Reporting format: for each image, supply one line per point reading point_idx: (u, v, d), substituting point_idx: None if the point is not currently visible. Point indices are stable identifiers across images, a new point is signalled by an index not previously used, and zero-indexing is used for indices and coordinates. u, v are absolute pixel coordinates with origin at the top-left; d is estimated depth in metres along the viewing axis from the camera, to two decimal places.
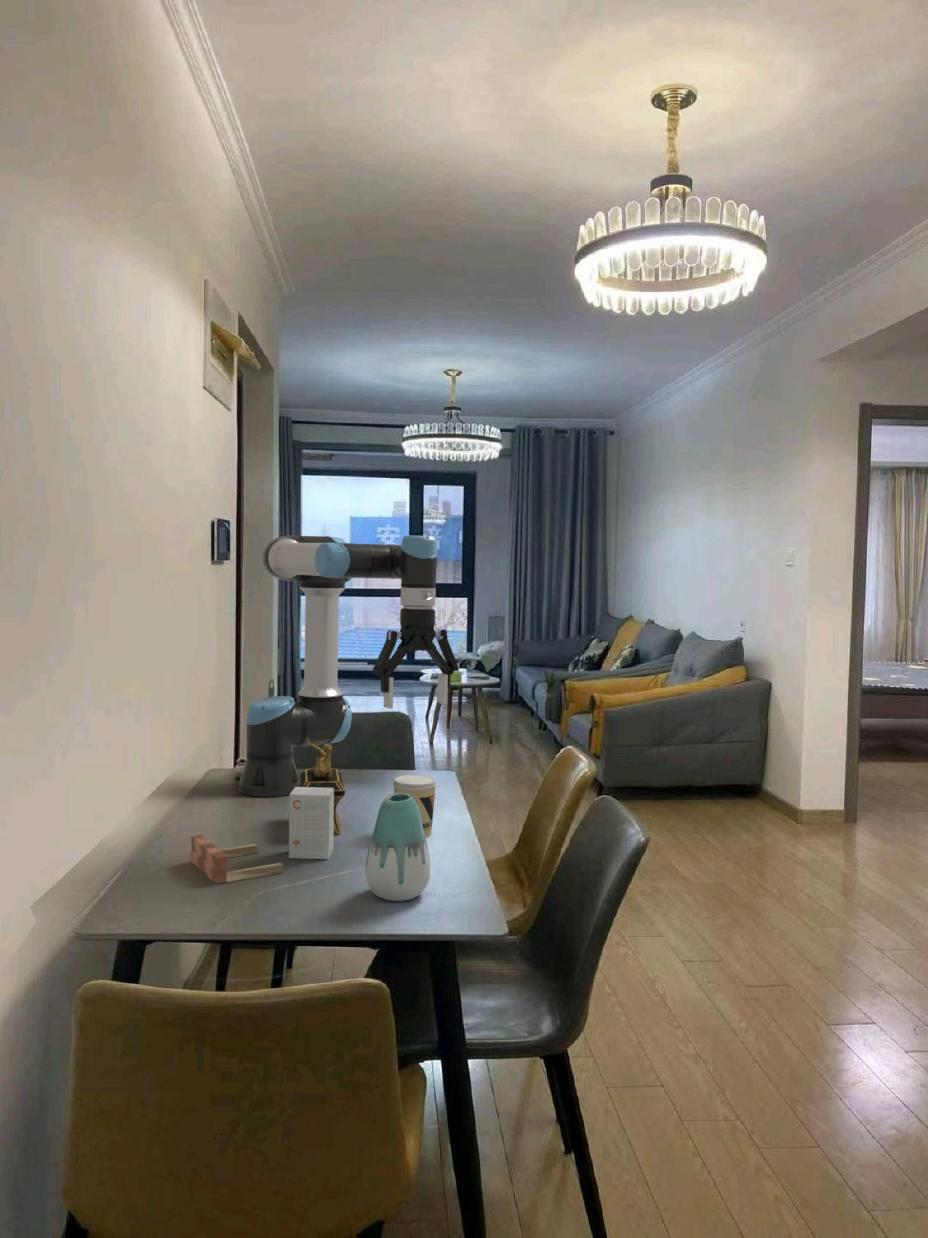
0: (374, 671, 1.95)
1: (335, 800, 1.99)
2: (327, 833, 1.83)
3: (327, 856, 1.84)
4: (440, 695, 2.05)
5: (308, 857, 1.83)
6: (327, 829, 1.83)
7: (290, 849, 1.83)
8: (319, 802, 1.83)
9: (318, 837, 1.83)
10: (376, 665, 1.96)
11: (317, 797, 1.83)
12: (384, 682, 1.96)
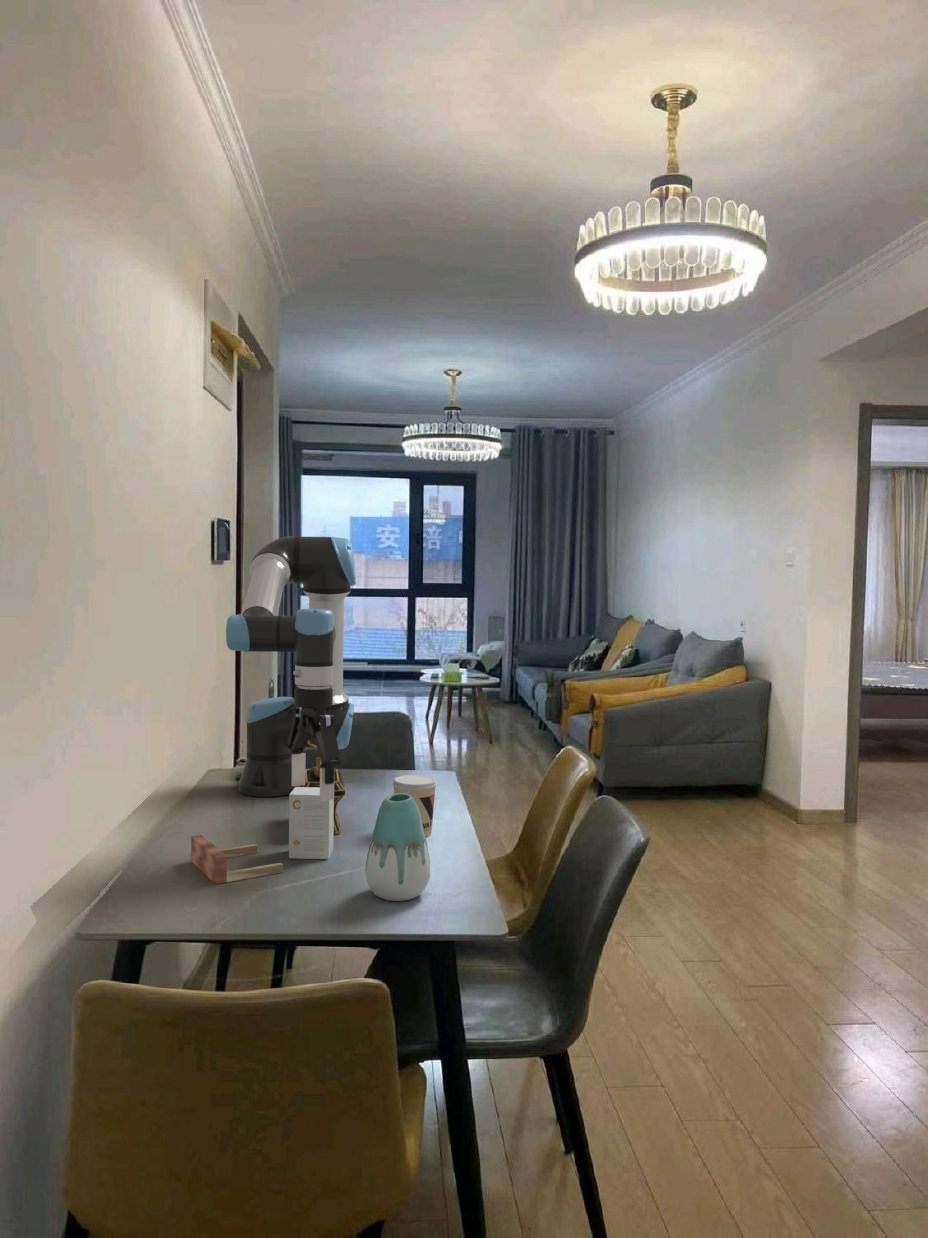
0: None
1: (335, 800, 1.99)
2: (327, 833, 1.83)
3: (327, 856, 1.84)
4: None
5: (308, 857, 1.83)
6: (327, 829, 1.83)
7: (290, 849, 1.83)
8: (319, 802, 1.83)
9: (318, 837, 1.83)
10: None
11: (317, 797, 1.83)
12: None
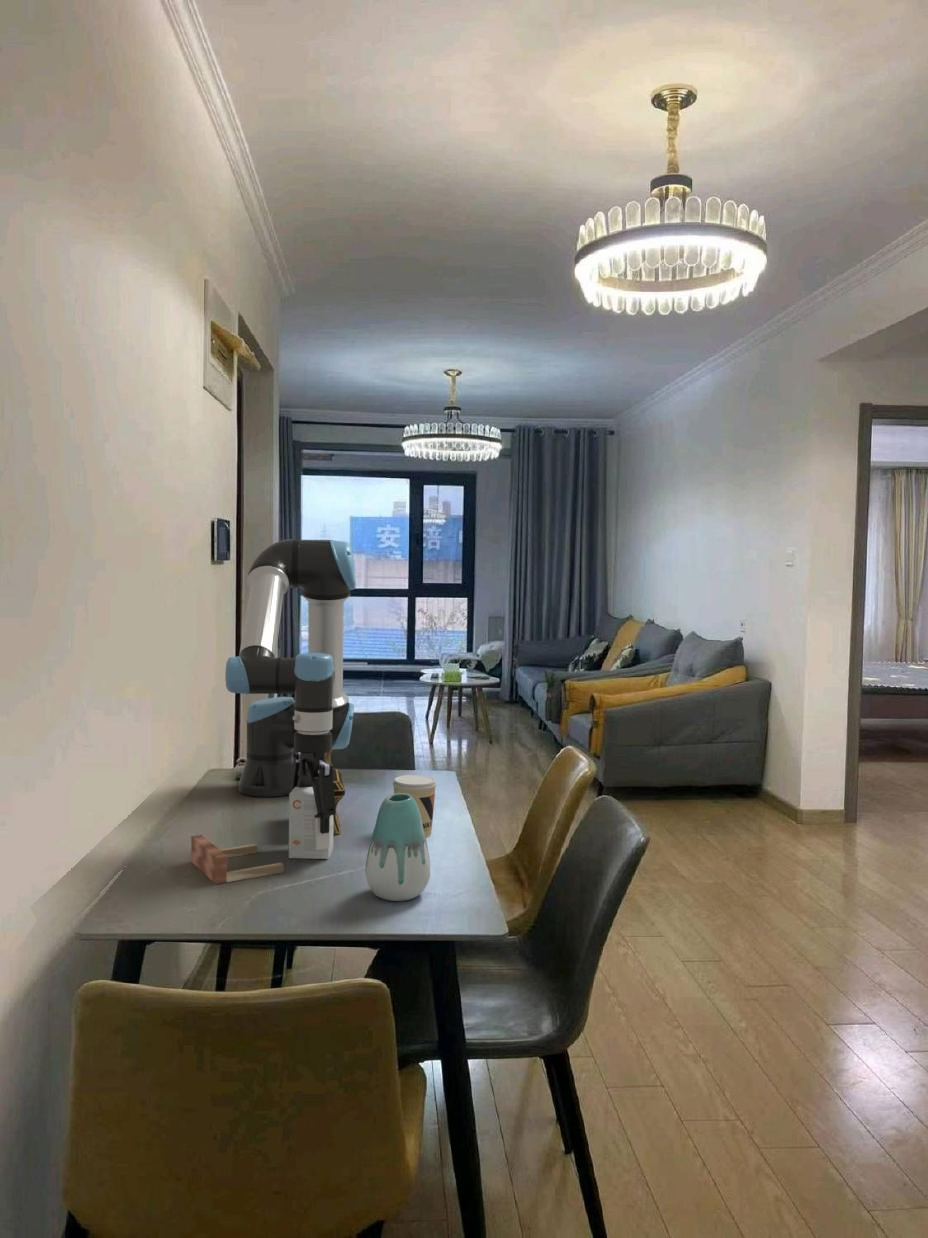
0: None
1: (335, 800, 1.99)
2: None
3: (327, 856, 1.84)
4: None
5: (308, 857, 1.84)
6: None
7: (290, 849, 1.83)
8: None
9: None
10: None
11: None
12: None
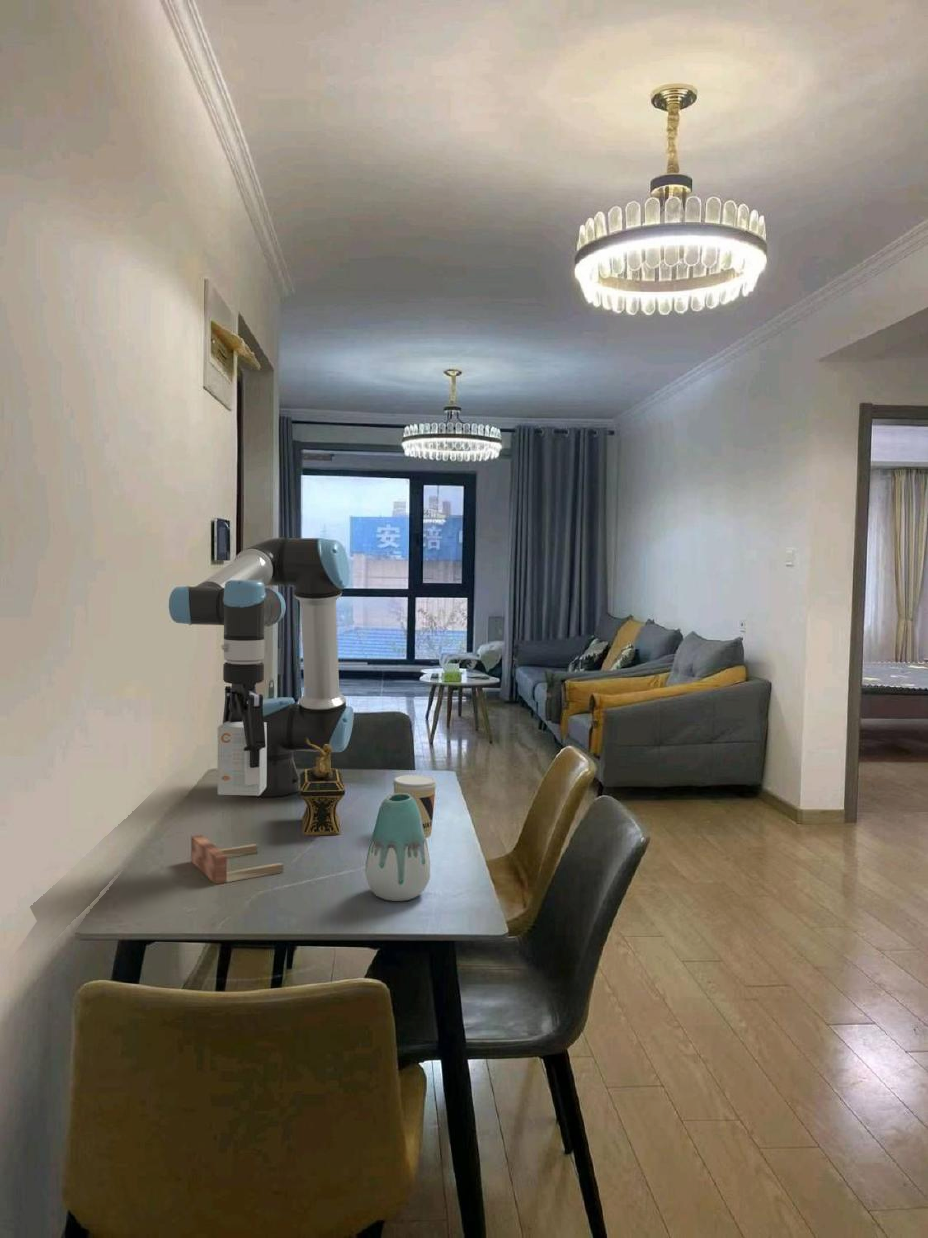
0: None
1: (335, 800, 1.99)
2: None
3: (257, 792, 1.75)
4: None
5: (238, 793, 1.75)
6: None
7: (219, 785, 1.75)
8: None
9: None
10: None
11: None
12: None
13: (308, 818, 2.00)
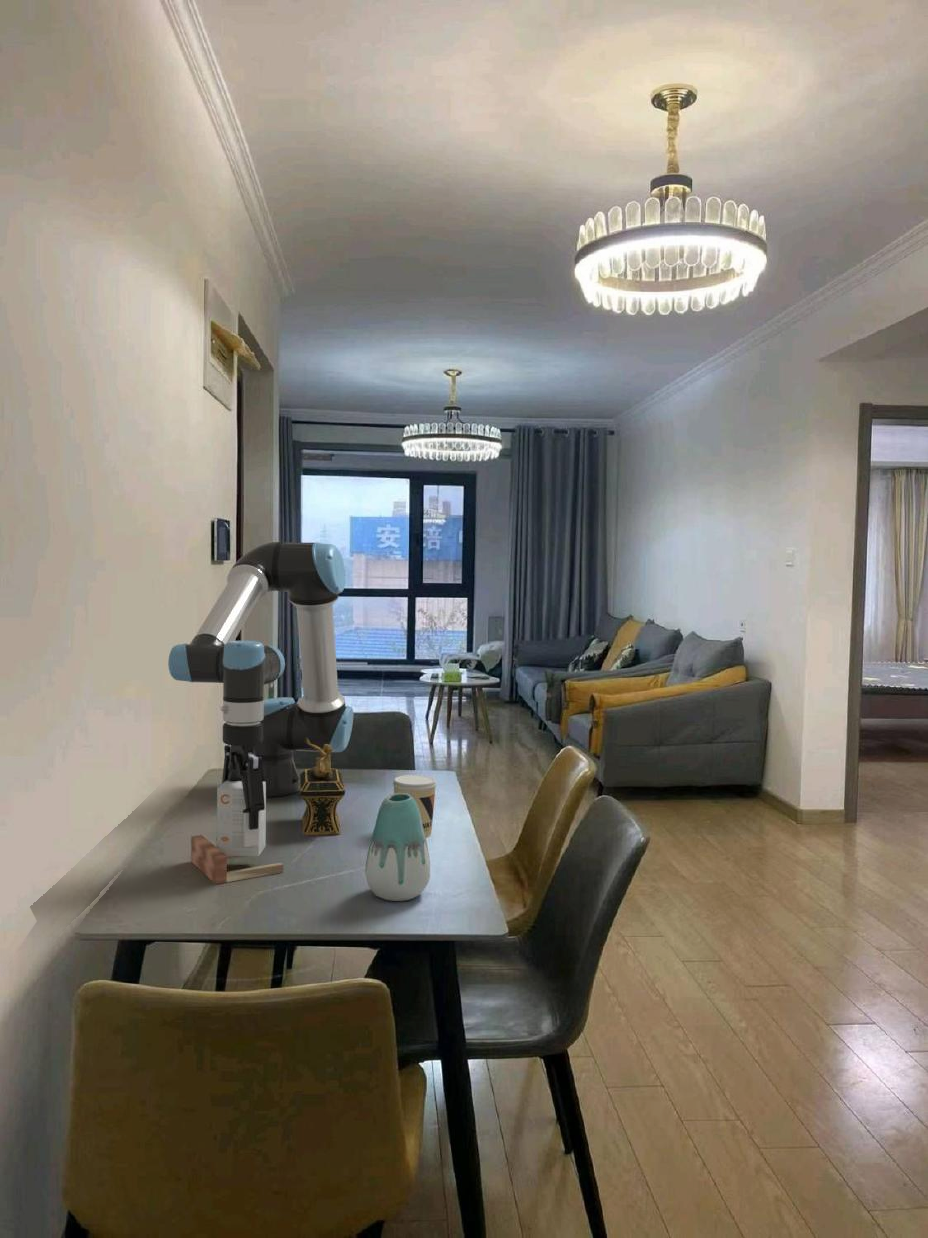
0: None
1: (335, 800, 1.99)
2: None
3: (257, 853, 1.75)
4: None
5: (237, 854, 1.75)
6: None
7: (218, 846, 1.75)
8: None
9: None
10: None
11: None
12: None
13: (308, 818, 2.00)
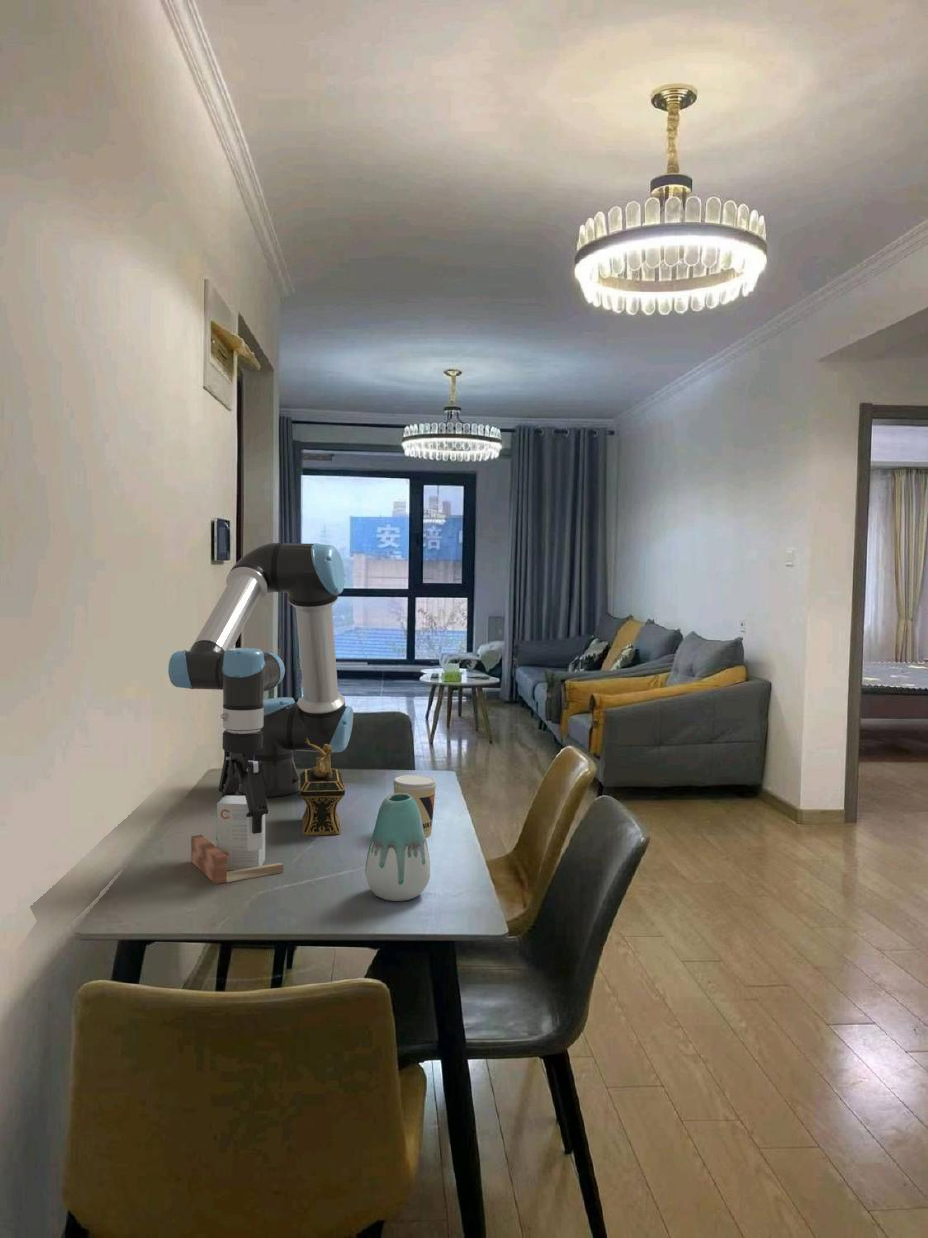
0: None
1: (335, 800, 1.99)
2: None
3: None
4: None
5: (237, 869, 1.76)
6: None
7: None
8: None
9: None
10: None
11: (246, 806, 1.75)
12: None
13: (308, 818, 2.00)
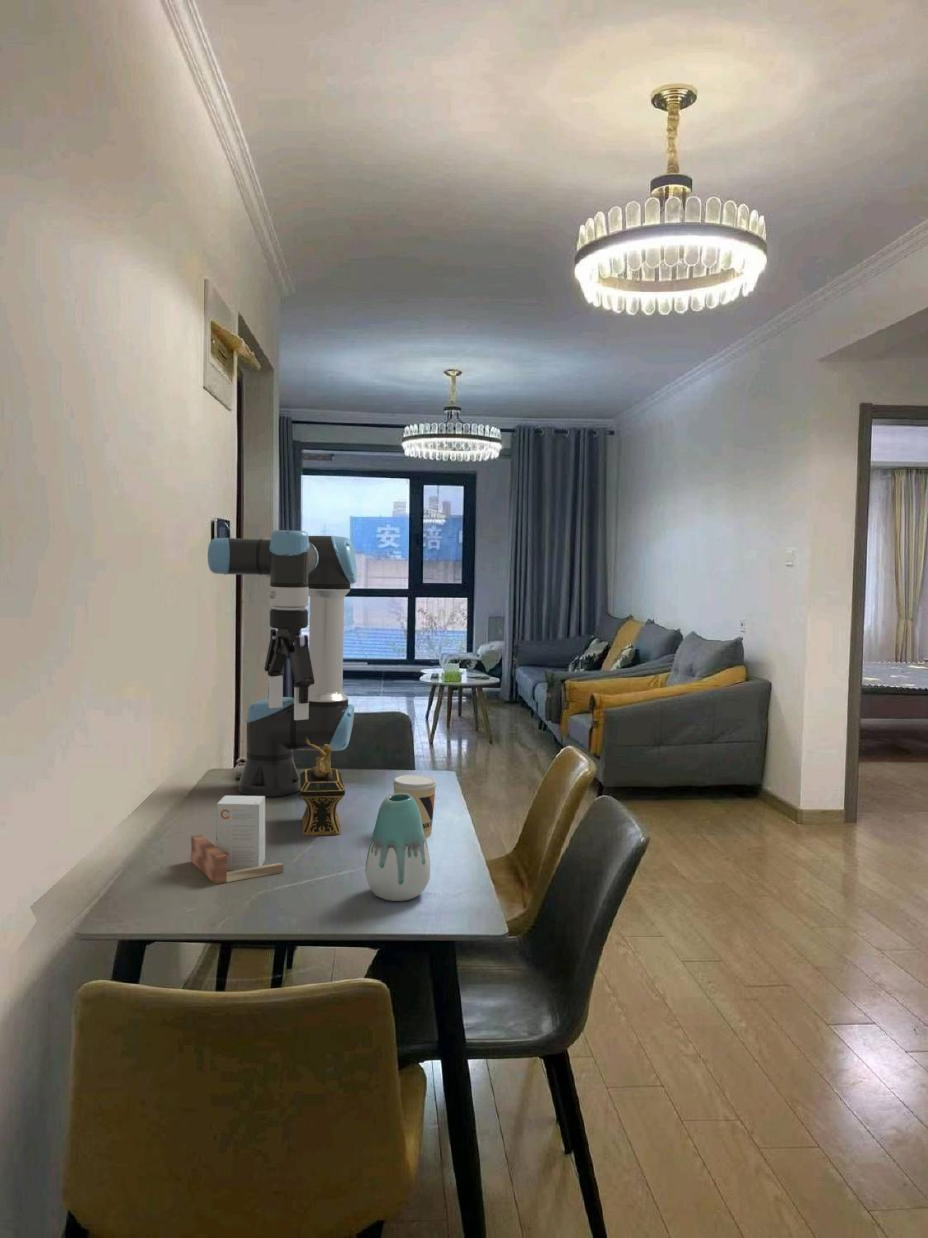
0: None
1: (335, 800, 1.99)
2: (257, 844, 1.75)
3: None
4: None
5: (237, 869, 1.76)
6: (257, 839, 1.75)
7: None
8: (248, 812, 1.75)
9: (247, 848, 1.75)
10: None
11: (246, 806, 1.75)
12: None
13: (308, 818, 2.00)
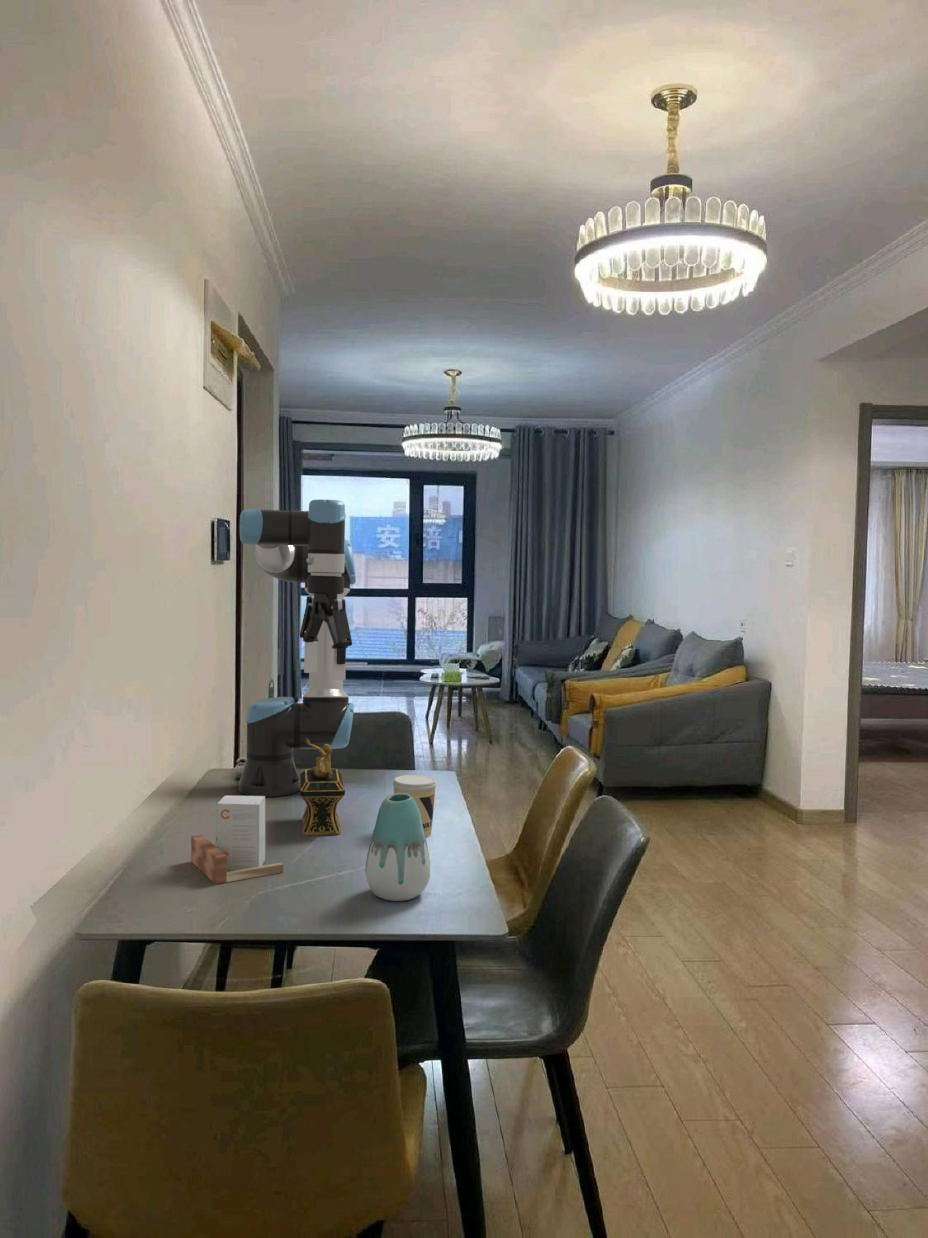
0: None
1: (335, 800, 1.99)
2: (257, 844, 1.75)
3: None
4: None
5: (237, 869, 1.76)
6: (257, 839, 1.75)
7: None
8: (248, 812, 1.75)
9: (247, 848, 1.75)
10: None
11: (246, 806, 1.75)
12: None
13: (308, 818, 2.00)
